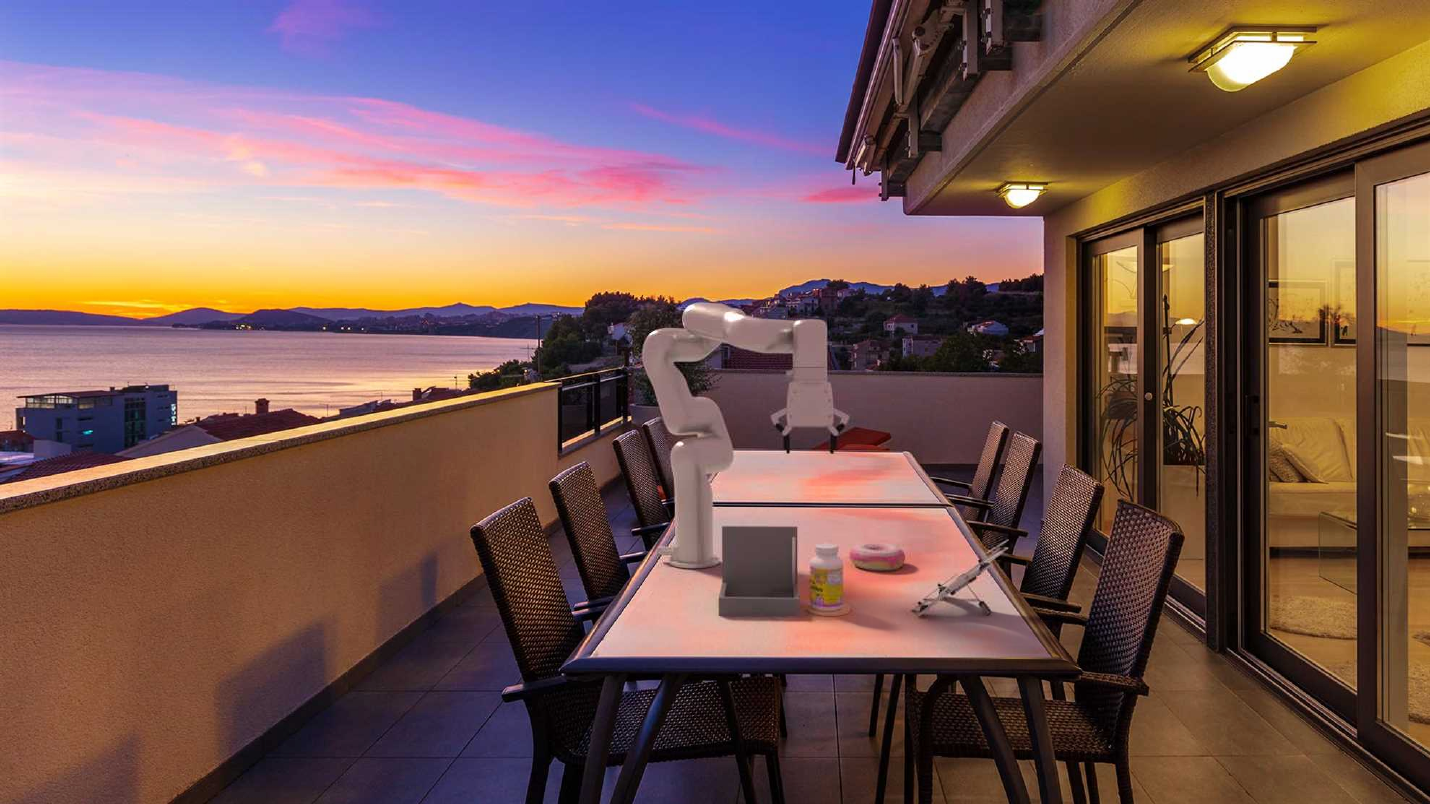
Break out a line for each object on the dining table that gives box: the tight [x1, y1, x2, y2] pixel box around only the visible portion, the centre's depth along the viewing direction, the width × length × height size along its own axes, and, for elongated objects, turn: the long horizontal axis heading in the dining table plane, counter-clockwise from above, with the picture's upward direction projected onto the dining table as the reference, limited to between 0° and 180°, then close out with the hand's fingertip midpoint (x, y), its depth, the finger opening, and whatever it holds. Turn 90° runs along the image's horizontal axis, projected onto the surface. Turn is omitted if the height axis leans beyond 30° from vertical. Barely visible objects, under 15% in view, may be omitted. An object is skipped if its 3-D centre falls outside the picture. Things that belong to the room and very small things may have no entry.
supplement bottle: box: [809, 542, 844, 611], centre depth 169 cm, size 7×7×13 cm
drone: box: [910, 539, 1009, 617], centre depth 167 cm, size 23×23×10 cm
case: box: [718, 525, 800, 618], centre depth 171 cm, size 16×13×16 cm
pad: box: [805, 603, 851, 617], centre depth 169 cm, size 9×9×1 cm
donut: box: [849, 542, 906, 572], centre depth 206 cm, size 14×13×5 cm
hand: (809, 453), depth 184 cm, fingers open, 9 cm apart
